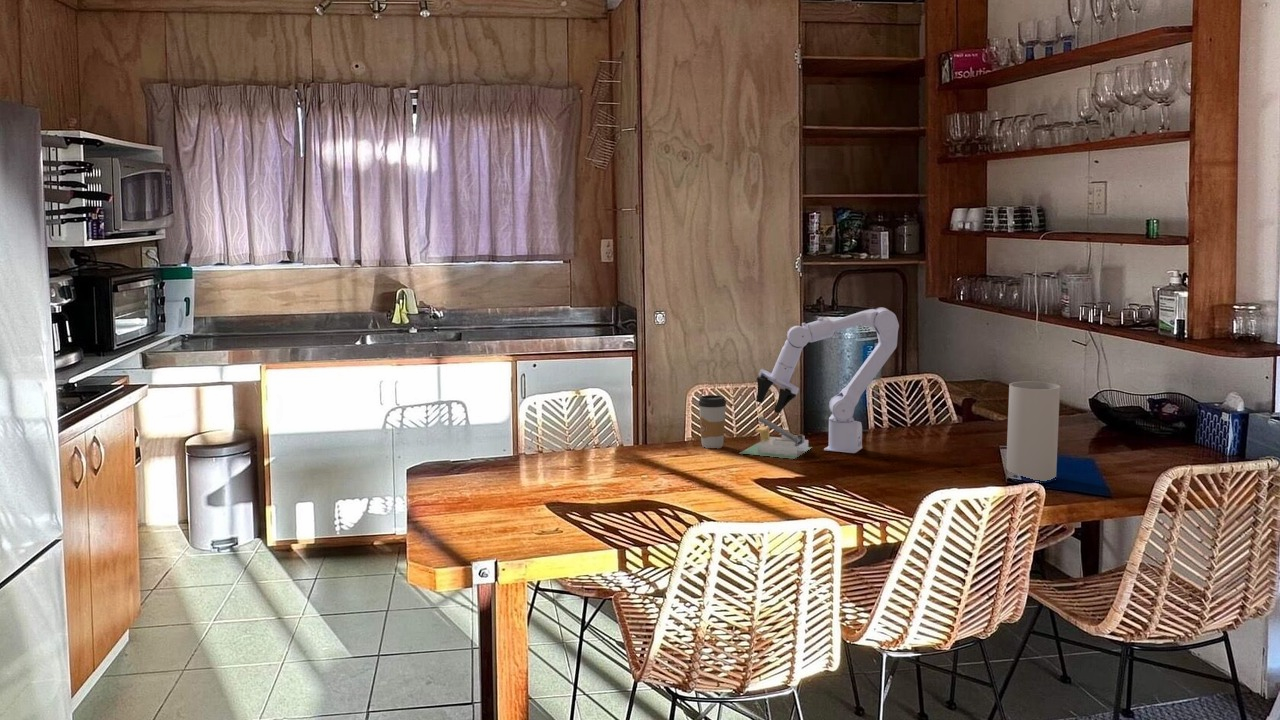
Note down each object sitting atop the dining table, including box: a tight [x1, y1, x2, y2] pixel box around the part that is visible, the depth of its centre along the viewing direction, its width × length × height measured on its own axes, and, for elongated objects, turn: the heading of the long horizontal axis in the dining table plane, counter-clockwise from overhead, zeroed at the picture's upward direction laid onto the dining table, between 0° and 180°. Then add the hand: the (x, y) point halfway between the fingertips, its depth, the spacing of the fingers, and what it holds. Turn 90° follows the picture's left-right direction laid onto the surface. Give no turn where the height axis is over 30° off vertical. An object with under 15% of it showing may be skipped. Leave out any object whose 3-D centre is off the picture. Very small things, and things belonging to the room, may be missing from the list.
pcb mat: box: [738, 442, 814, 460], centre depth 341 cm, size 17×16×1 cm
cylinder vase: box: [1005, 381, 1061, 483], centre depth 304 cm, size 12×12×25 cm
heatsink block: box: [757, 433, 809, 458], centre depth 339 cm, size 12×10×5 cm
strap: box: [757, 416, 802, 442], centre depth 339 cm, size 14×3×1 cm, turn 64°
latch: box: [754, 425, 770, 442], centre depth 346 cm, size 2×5×6 cm, turn 153°
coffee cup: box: [698, 394, 727, 449], centre depth 347 cm, size 8×8×15 cm
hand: (767, 407), depth 342 cm, fingers open, 7 cm apart
